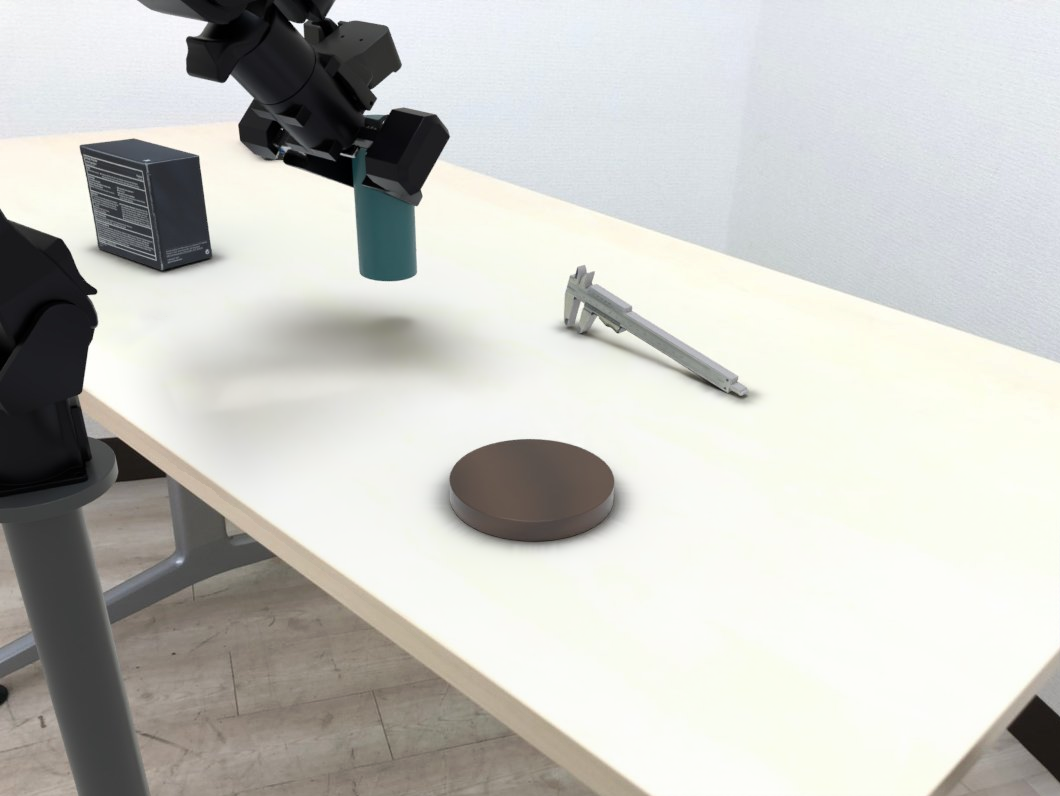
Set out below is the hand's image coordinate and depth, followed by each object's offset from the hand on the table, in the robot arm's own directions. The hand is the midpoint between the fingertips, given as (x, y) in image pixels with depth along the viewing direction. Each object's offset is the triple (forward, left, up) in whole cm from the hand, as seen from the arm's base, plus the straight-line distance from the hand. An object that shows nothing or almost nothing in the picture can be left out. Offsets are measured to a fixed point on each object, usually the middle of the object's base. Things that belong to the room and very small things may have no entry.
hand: (396, 195), depth 90 cm
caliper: (+17, -16, -12) cm, 26 cm away
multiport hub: (+4, +67, -12) cm, 68 cm away
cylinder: (-1, -1, -7) cm, 7 cm away
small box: (-17, +26, -12) cm, 33 cm away
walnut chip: (-2, -33, -11) cm, 35 cm away
